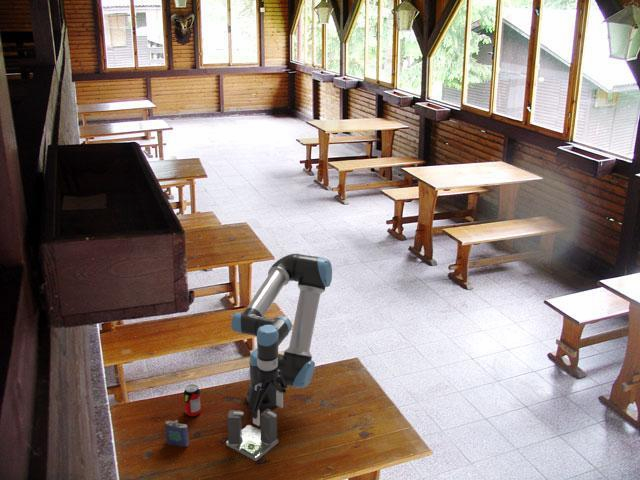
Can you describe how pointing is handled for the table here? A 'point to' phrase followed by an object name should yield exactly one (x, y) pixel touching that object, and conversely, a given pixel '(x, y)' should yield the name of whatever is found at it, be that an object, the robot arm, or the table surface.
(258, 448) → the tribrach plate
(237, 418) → the grey upright post
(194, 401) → the beverage can
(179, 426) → the flask
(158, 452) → the table surface
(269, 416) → the grey tall block
